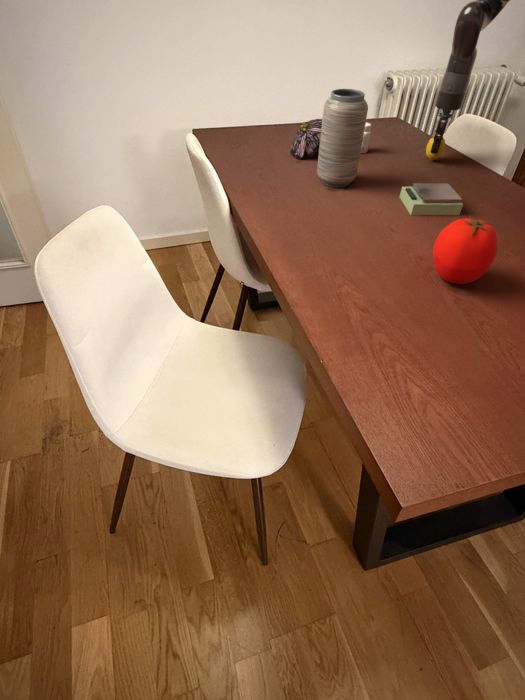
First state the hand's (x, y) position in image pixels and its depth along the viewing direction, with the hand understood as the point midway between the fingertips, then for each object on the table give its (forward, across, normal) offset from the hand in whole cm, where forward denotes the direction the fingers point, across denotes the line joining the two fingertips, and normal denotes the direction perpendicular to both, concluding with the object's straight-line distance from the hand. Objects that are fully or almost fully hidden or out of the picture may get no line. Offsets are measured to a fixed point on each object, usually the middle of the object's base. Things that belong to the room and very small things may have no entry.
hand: (434, 149), depth 131 cm
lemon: (+4, 0, 0) cm, 4 cm away
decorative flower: (+4, -12, +39) cm, 41 cm away
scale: (+3, -35, -3) cm, 35 cm away
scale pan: (0, -35, -4) cm, 35 cm away
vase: (+4, -30, +24) cm, 39 cm away
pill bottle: (+4, -1, +24) cm, 24 cm away
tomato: (+4, -68, -12) cm, 69 cm away
